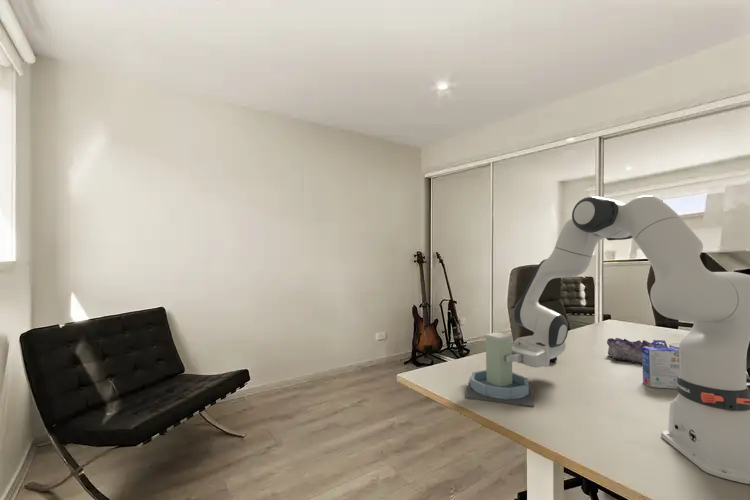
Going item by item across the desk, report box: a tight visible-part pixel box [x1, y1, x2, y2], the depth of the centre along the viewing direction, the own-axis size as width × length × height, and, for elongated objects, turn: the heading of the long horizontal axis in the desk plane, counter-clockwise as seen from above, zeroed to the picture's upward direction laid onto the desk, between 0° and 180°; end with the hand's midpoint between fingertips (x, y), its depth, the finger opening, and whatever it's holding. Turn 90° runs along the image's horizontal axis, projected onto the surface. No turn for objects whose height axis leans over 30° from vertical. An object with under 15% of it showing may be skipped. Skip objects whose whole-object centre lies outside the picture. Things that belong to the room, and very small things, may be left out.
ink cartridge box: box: [641, 339, 679, 390], centre depth 117 cm, size 10×6×14 cm, turn 78°
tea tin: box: [484, 332, 513, 387], centre depth 114 cm, size 6×6×15 cm
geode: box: [606, 337, 664, 365], centre depth 143 cm, size 20×12×10 cm, turn 56°
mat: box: [464, 378, 535, 408], centre depth 114 cm, size 20×19×1 cm
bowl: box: [470, 369, 529, 400], centre depth 114 cm, size 17×17×3 cm
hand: (496, 356), depth 113 cm, fingers open, 6 cm apart
